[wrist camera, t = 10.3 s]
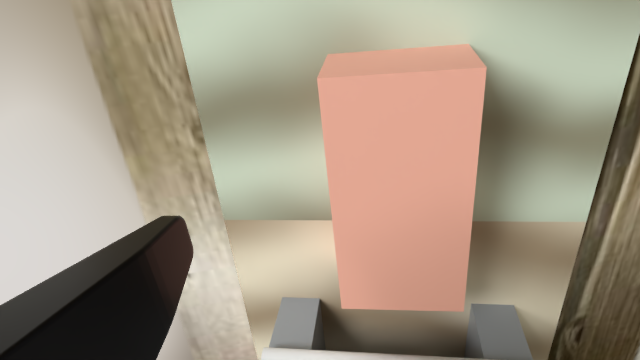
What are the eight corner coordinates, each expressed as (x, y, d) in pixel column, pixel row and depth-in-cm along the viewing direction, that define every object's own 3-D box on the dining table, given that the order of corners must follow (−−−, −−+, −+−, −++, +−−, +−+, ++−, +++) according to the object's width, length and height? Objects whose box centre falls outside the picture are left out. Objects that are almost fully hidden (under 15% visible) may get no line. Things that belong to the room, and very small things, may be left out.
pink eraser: (453, 262, 20) (463, 311, 17) (346, 261, 21) (341, 308, 18) (468, 43, 15) (486, 67, 12) (327, 54, 16) (317, 78, 13)
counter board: (526, 400, 26) (531, 416, 25) (270, 383, 28) (266, 397, 27) (644, -48, 14) (662, -47, 13) (181, -10, 16) (169, -7, 15)
